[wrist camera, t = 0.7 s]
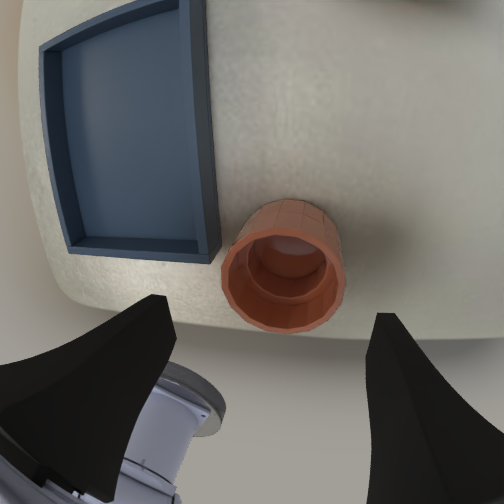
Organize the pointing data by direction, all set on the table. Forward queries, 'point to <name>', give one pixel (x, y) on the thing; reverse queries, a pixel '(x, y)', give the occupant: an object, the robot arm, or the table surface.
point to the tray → (133, 133)
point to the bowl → (285, 268)
